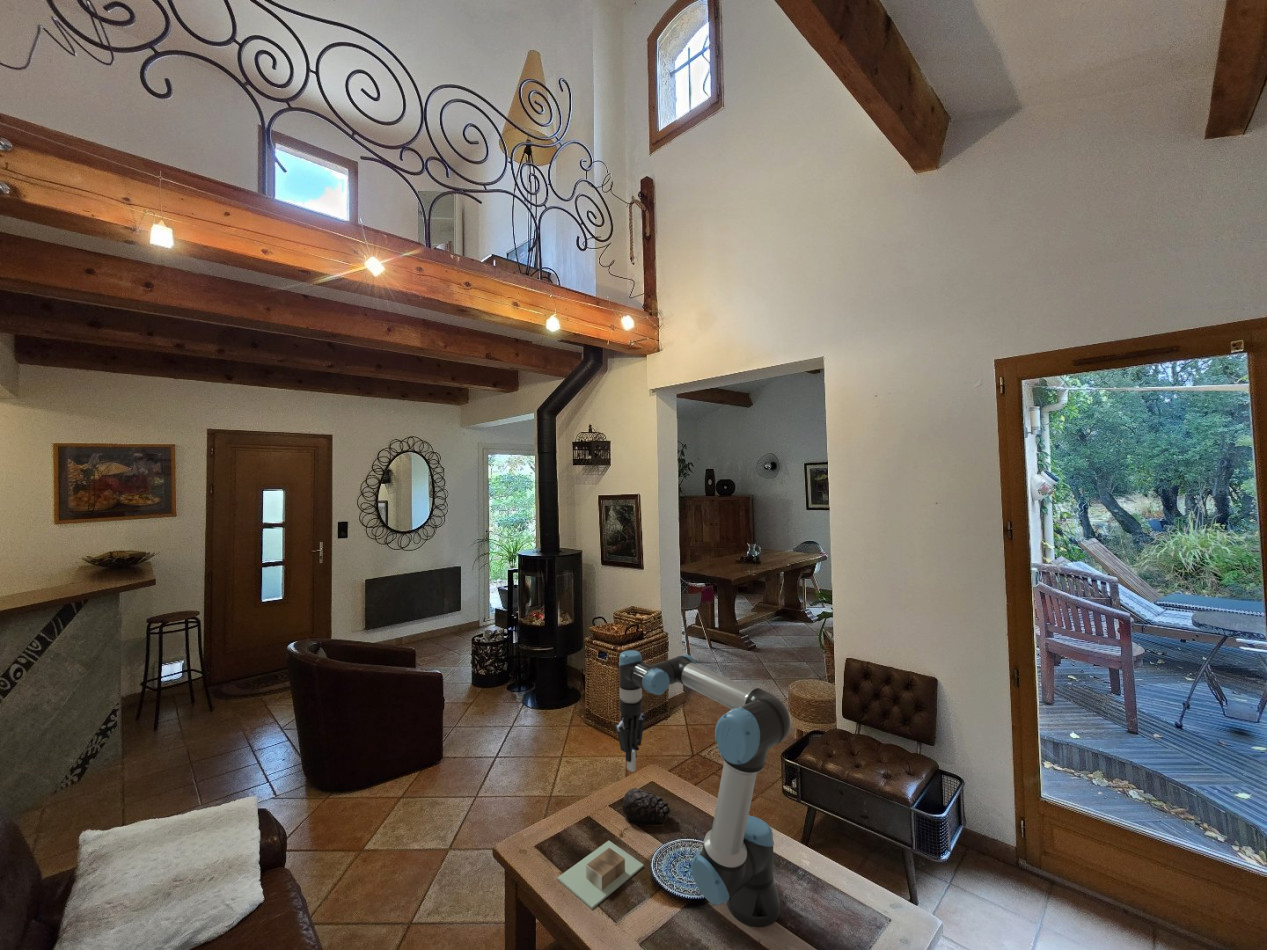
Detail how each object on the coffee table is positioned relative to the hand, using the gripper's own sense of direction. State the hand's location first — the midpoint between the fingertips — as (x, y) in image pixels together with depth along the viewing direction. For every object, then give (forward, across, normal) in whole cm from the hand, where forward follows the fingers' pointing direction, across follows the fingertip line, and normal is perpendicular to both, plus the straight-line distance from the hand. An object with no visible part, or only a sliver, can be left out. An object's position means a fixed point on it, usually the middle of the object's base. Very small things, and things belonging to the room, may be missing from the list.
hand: (631, 769), depth 168 cm
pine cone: (+27, -15, -7) cm, 31 cm away
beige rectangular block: (+24, +9, +2) cm, 26 cm away
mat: (+26, +14, 0) cm, 30 cm away
